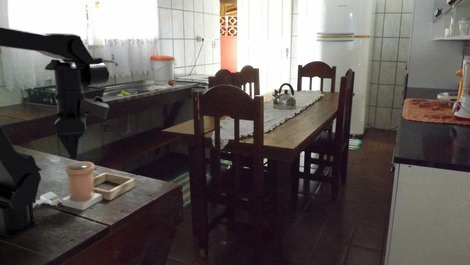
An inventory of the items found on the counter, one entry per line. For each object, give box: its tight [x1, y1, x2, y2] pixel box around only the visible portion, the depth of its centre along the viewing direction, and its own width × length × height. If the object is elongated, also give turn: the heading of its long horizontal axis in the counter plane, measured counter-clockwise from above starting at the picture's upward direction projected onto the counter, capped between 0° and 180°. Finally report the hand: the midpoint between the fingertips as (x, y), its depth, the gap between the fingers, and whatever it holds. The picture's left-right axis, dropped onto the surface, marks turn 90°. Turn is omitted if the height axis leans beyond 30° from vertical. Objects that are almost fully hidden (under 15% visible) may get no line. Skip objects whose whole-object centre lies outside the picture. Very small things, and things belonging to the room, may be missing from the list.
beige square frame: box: [93, 172, 137, 201], centre depth 99 cm, size 10×10×2 cm
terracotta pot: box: [64, 161, 95, 202], centre depth 90 cm, size 6×6×8 cm
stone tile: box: [61, 193, 103, 211], centre depth 91 cm, size 6×6×2 cm
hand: (74, 152), depth 91 cm, fingers open, 9 cm apart
